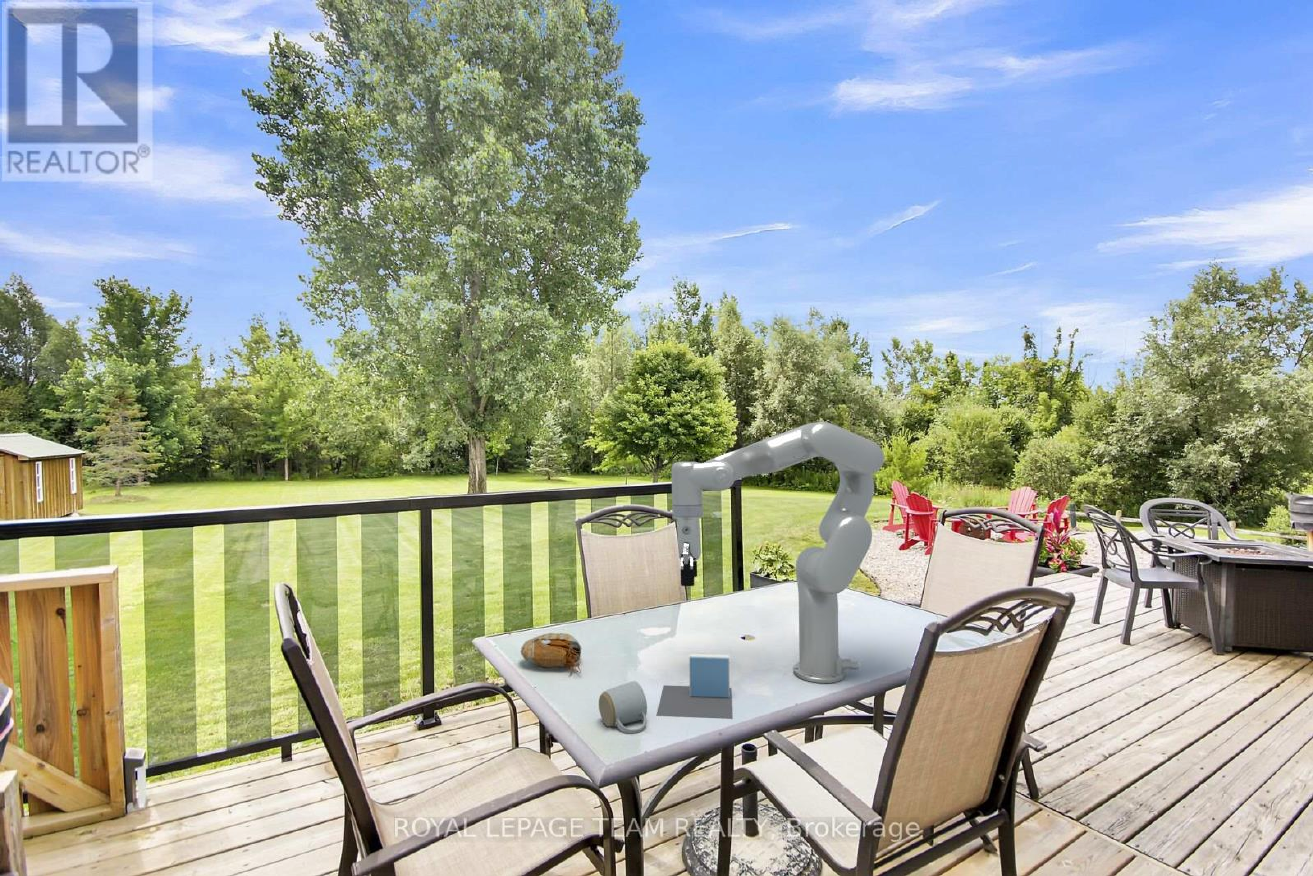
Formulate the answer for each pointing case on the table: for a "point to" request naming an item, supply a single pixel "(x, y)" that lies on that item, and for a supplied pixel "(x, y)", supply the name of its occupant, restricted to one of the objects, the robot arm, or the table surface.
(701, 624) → the table surface
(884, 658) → the table surface
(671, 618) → the table surface
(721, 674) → the tile
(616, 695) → the ceramic mug
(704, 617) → the table surface
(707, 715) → the mat
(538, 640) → the nautilus
